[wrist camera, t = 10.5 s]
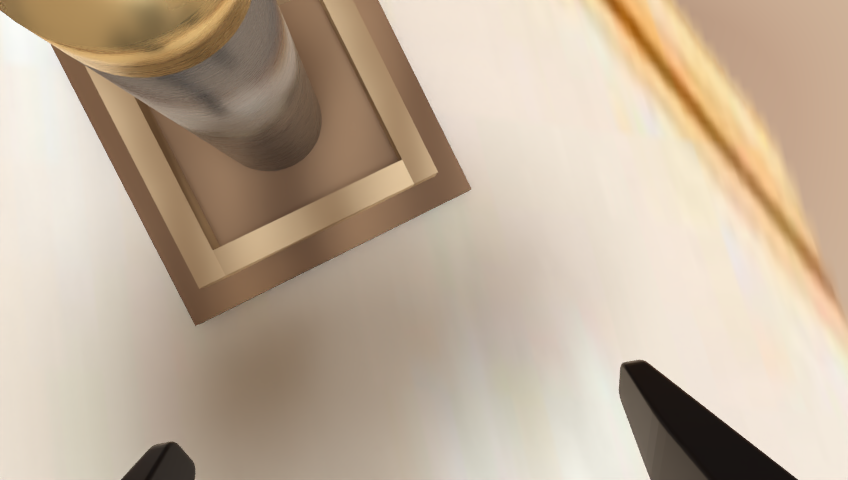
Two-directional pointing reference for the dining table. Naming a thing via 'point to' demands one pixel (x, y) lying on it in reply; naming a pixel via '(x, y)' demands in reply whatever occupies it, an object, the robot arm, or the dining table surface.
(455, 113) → the dining table surface
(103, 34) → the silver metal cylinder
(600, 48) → the dining table surface
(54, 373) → the dining table surface
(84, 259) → the dining table surface
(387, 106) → the socket board
